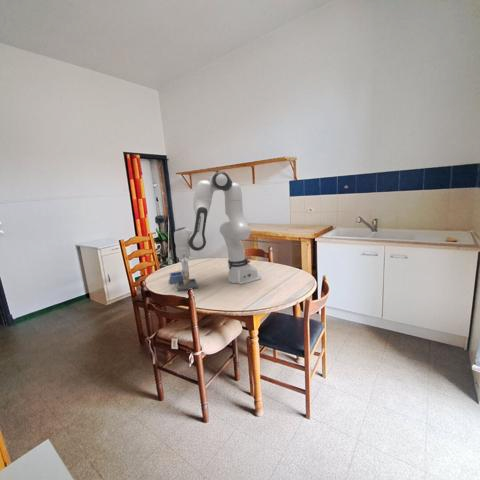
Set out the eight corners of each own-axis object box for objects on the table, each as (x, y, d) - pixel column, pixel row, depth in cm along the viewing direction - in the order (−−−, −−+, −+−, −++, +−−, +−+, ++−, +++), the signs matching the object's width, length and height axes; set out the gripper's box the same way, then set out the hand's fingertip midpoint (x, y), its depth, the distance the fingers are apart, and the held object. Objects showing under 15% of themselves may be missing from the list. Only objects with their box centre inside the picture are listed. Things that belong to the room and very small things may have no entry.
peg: (189, 283, 172) (188, 269, 169) (190, 285, 168) (188, 270, 166) (183, 284, 171) (181, 270, 168) (184, 286, 167) (182, 271, 165)
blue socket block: (183, 277, 186) (182, 271, 185) (184, 282, 178) (183, 275, 177) (170, 279, 184) (169, 273, 183) (170, 284, 176) (169, 277, 175)
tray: (195, 281, 177) (195, 278, 176) (197, 288, 165) (197, 284, 165) (177, 284, 174) (177, 281, 173) (178, 291, 162) (177, 287, 162)
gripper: (189, 256, 156) (192, 278, 159) (187, 249, 175) (189, 268, 178) (178, 258, 154) (181, 280, 157) (177, 250, 173) (180, 270, 176)
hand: (185, 274), depth 168 cm, fingers open, 6 cm apart
